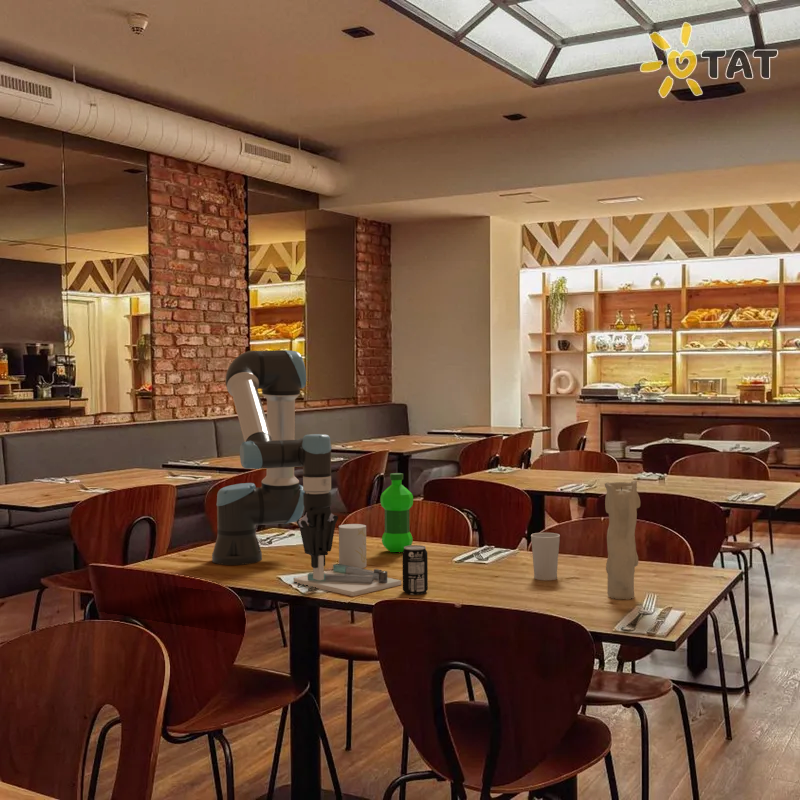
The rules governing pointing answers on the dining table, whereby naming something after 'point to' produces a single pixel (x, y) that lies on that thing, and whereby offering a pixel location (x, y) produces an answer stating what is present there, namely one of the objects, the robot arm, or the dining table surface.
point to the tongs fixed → (362, 572)
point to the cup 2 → (545, 555)
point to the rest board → (347, 585)
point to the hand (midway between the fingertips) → (318, 579)
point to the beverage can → (415, 570)
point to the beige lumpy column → (621, 538)
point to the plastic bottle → (396, 515)
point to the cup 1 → (352, 545)
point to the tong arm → (344, 578)
